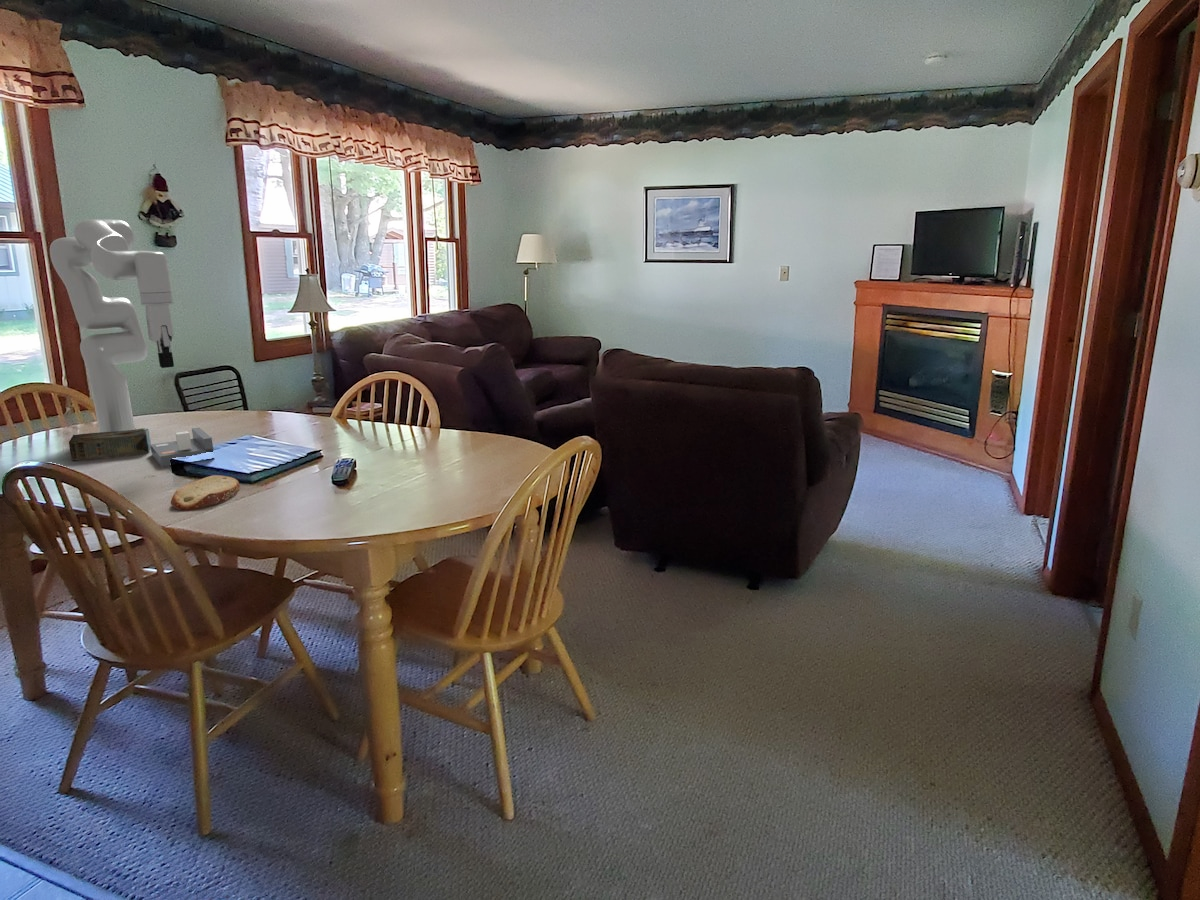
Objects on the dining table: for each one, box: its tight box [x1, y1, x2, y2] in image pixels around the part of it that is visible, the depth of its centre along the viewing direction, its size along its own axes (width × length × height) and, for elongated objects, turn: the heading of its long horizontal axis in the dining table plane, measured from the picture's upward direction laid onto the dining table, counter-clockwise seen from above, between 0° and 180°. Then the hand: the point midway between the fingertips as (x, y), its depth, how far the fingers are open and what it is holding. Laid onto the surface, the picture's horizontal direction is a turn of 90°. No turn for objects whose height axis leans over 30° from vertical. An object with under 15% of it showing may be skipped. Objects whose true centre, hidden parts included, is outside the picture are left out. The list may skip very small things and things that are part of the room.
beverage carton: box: [68, 427, 152, 461], centre depth 222 cm, size 8×19×7 cm, turn 116°
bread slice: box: [170, 474, 241, 512], centre depth 186 cm, size 18×18×4 cm
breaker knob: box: [174, 430, 192, 451], centre depth 214 cm, size 2×3×4 cm
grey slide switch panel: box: [150, 427, 214, 468], centre depth 219 cm, size 16×13×6 cm
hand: (167, 366), depth 215 cm, fingers closed
